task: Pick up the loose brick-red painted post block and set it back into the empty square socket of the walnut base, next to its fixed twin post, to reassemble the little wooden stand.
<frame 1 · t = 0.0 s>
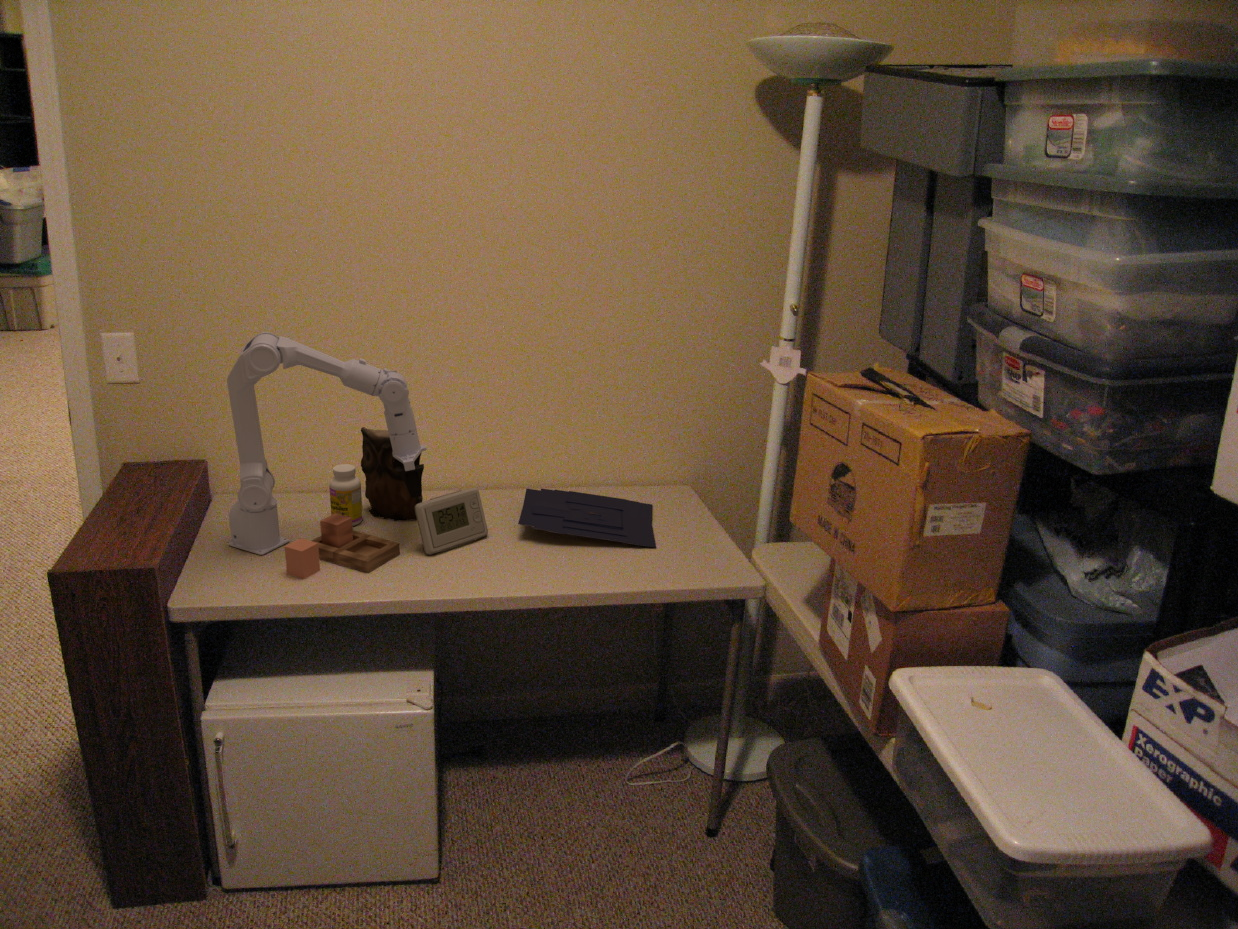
hand: (415, 489, 204), 11 cm above the table, fingers open, 7 cm apart
supplement bottle: (347, 522, 212), on the table
owl: (400, 511, 219), on the table
walnut base: (353, 554, 197), on the table
post block: (303, 572, 189), on the table
digital clock: (452, 544, 204), on the table
papers: (588, 525, 217), on the table
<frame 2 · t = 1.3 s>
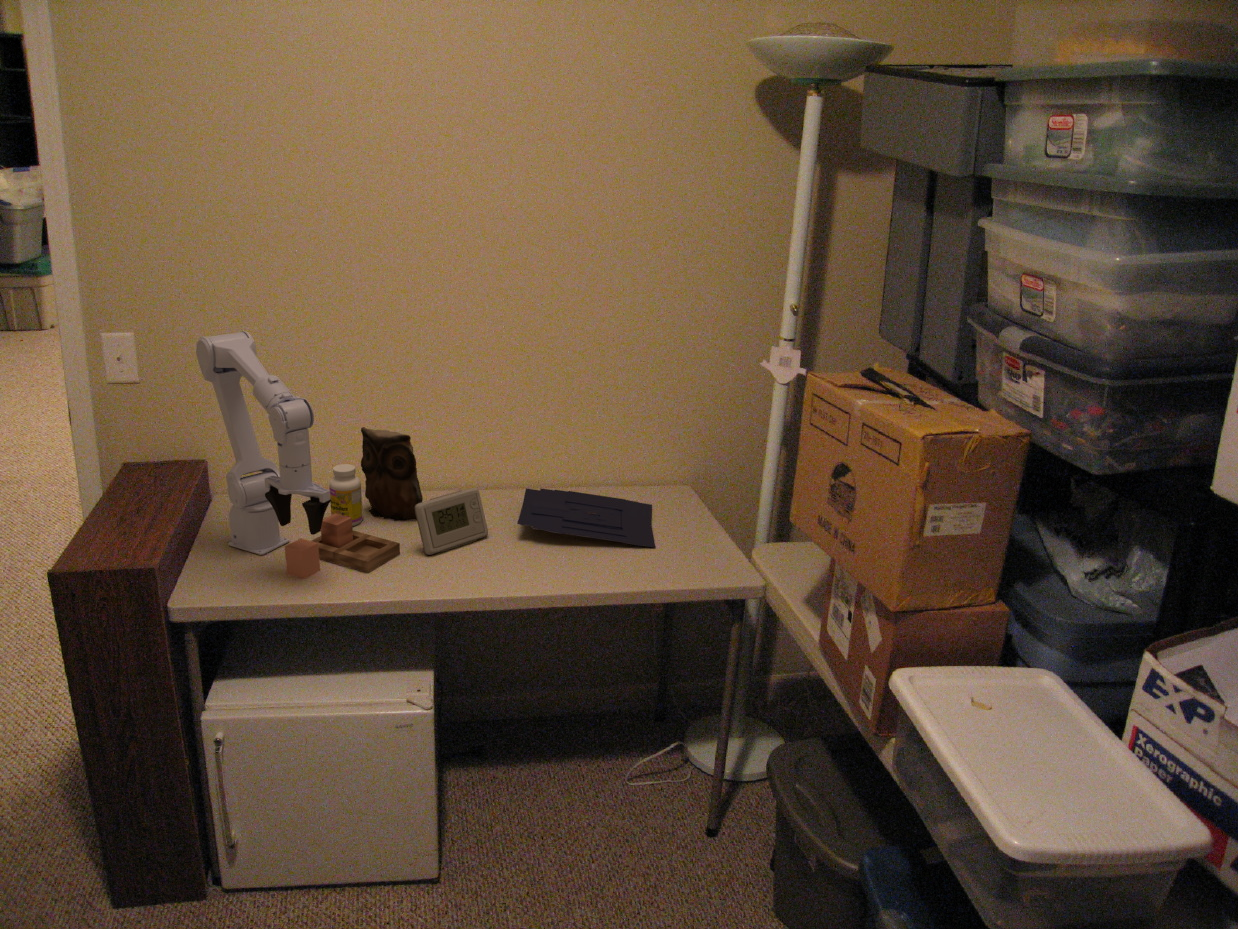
hand: (300, 528, 186), 9 cm above the table, fingers open, 7 cm apart
nothing on the table moved.
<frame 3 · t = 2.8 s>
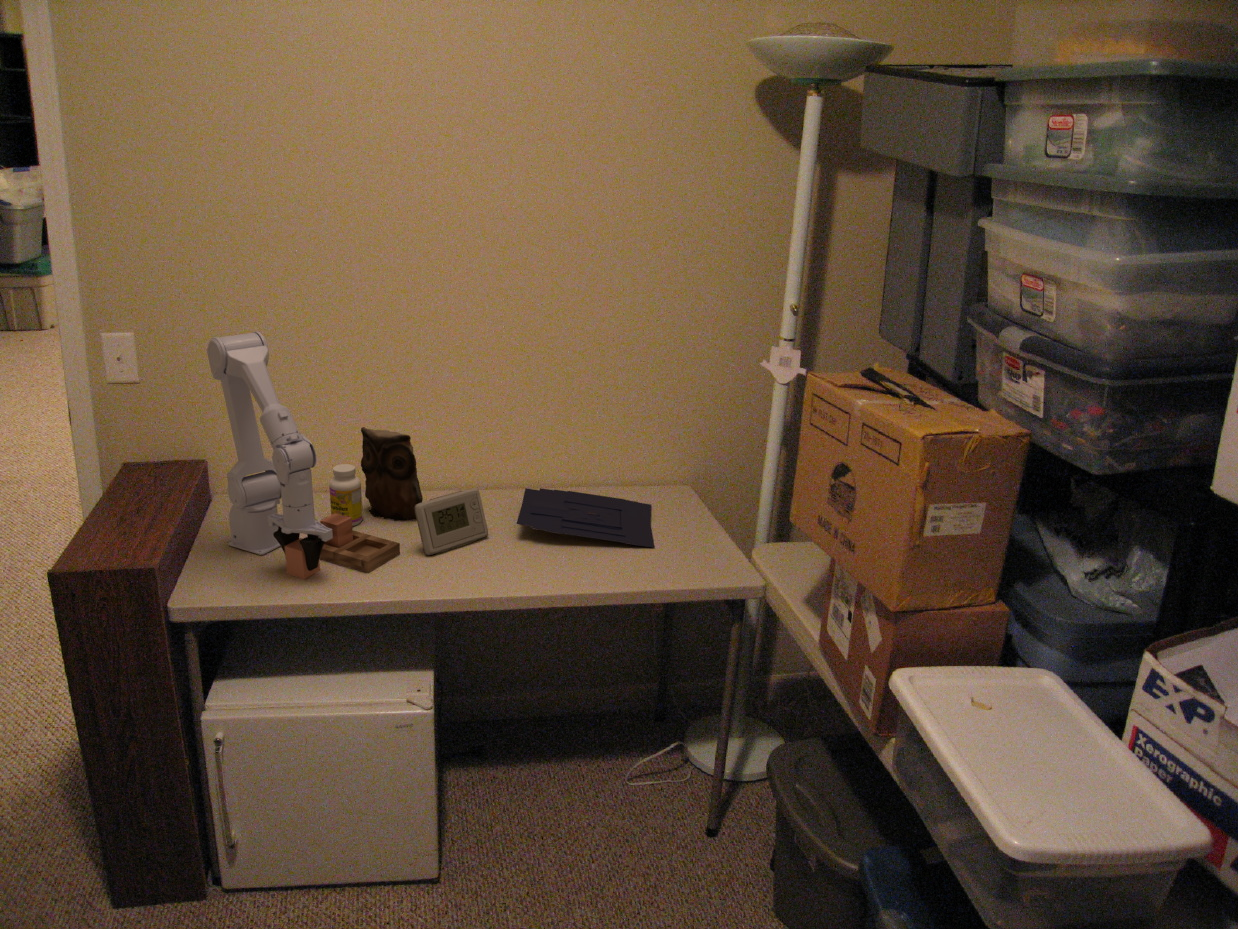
hand: (303, 565, 189), 1 cm above the table, fingers closed on post block, 4 cm apart
post block: (303, 572, 189), on the table, touching gripper
everything else where it was.
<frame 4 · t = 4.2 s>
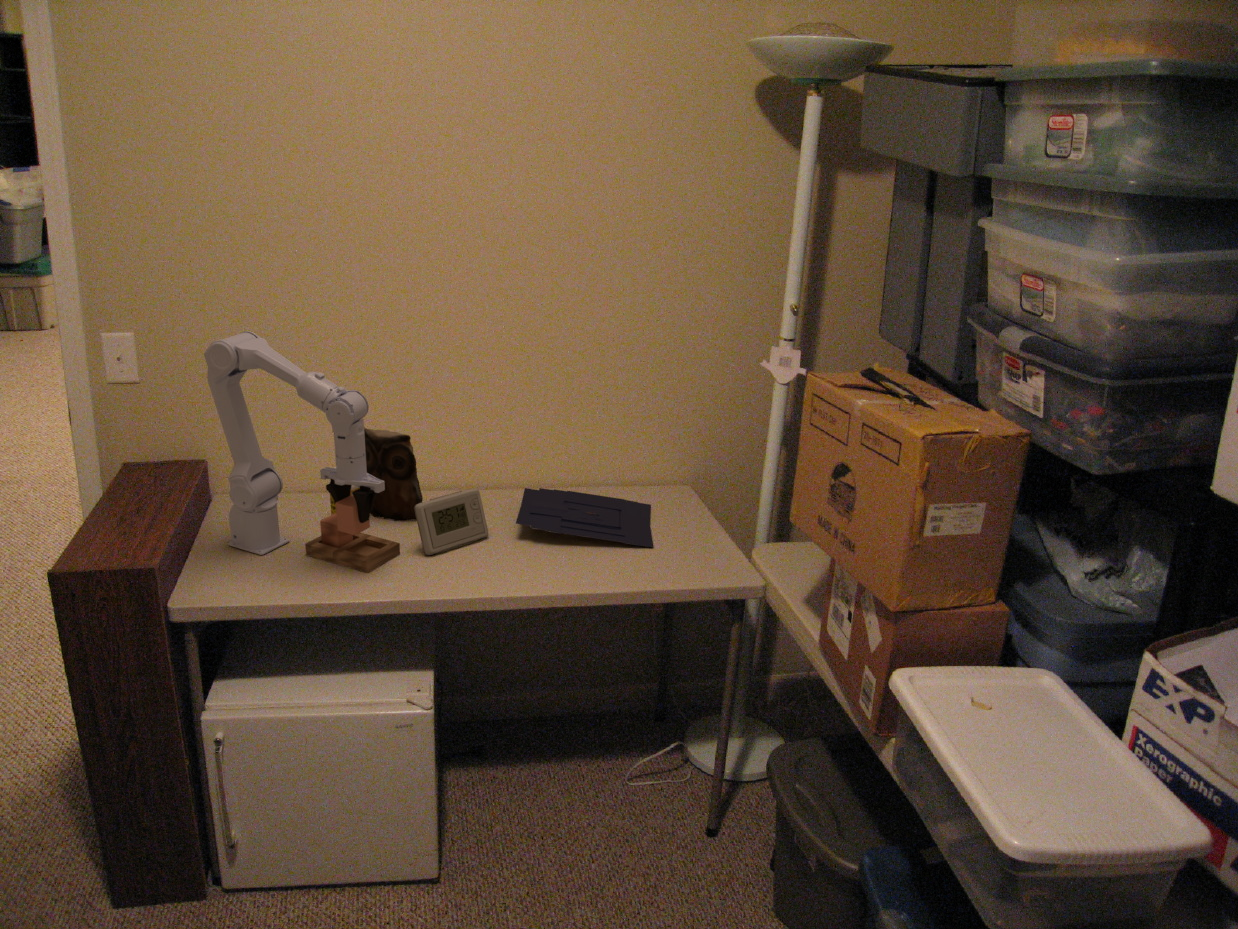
hand: (354, 518, 191), 10 cm above the table, fingers closed on post block, 4 cm apart
post block: (354, 528, 192), point 7 cm above the table, touching gripper
everything else where it was.
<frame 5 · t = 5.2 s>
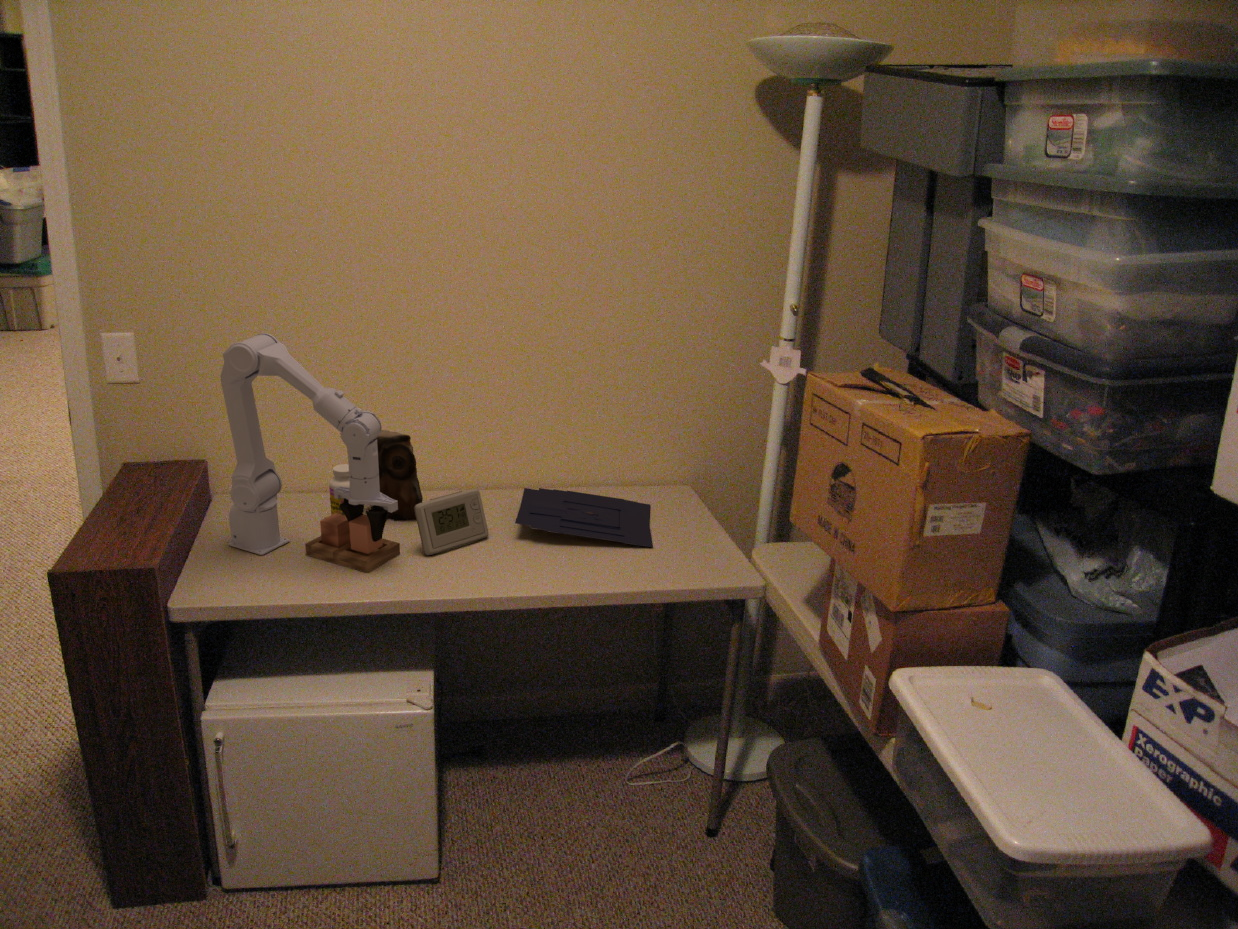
hand: (367, 537, 194), 5 cm above the table, fingers closed on post block, 4 cm apart
post block: (367, 547, 194), point 3 cm above the table, touching gripper
everything else where it was.
when the fingers open (4 cm above the table, at t = 5.9 s): post block stays where it is, resting on walnut base.
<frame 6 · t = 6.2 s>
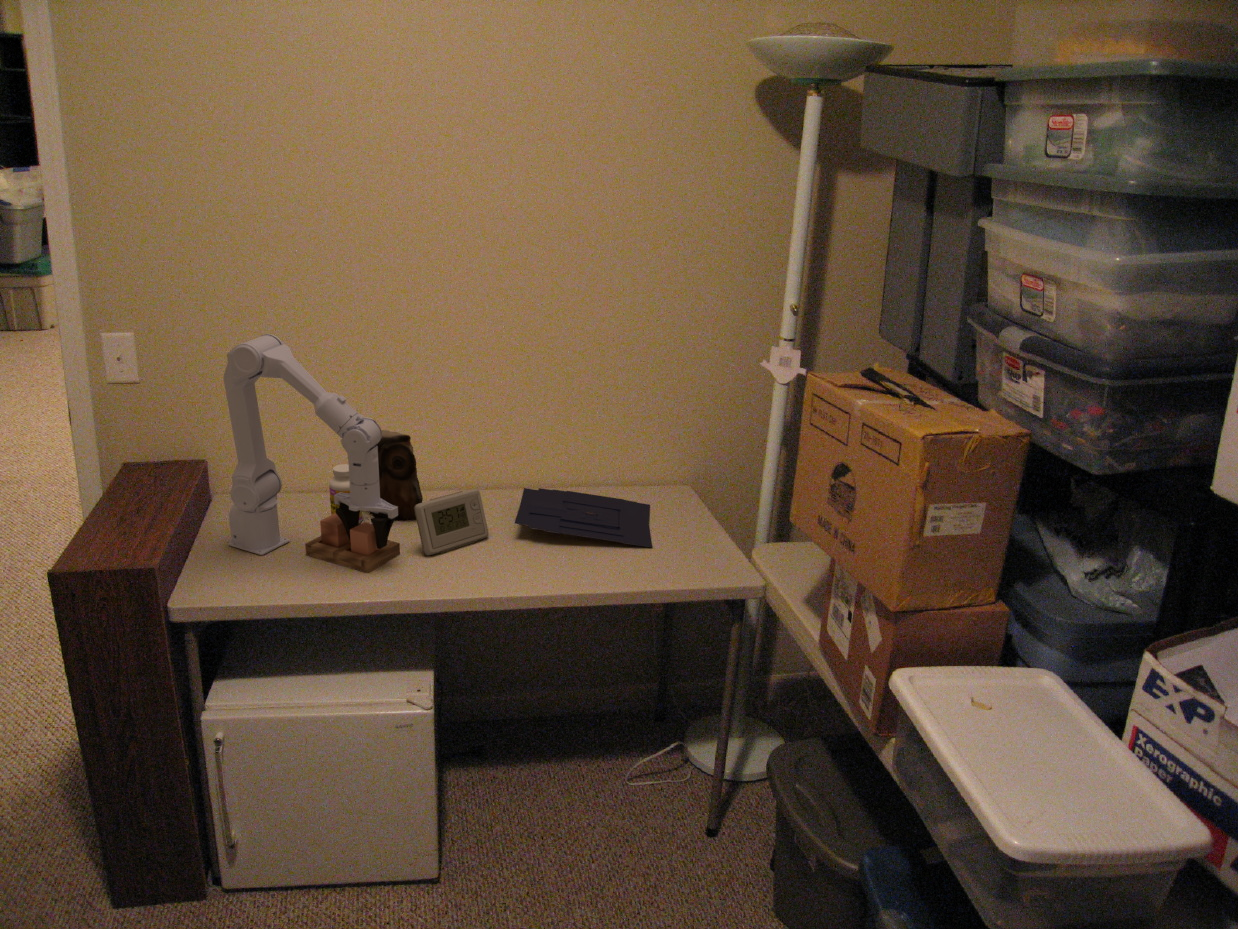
hand: (367, 542, 194), 4 cm above the table, fingers open, 7 cm apart
post block: (367, 555, 195), point 1 cm above the table, touching walnut base
everything else where it was.
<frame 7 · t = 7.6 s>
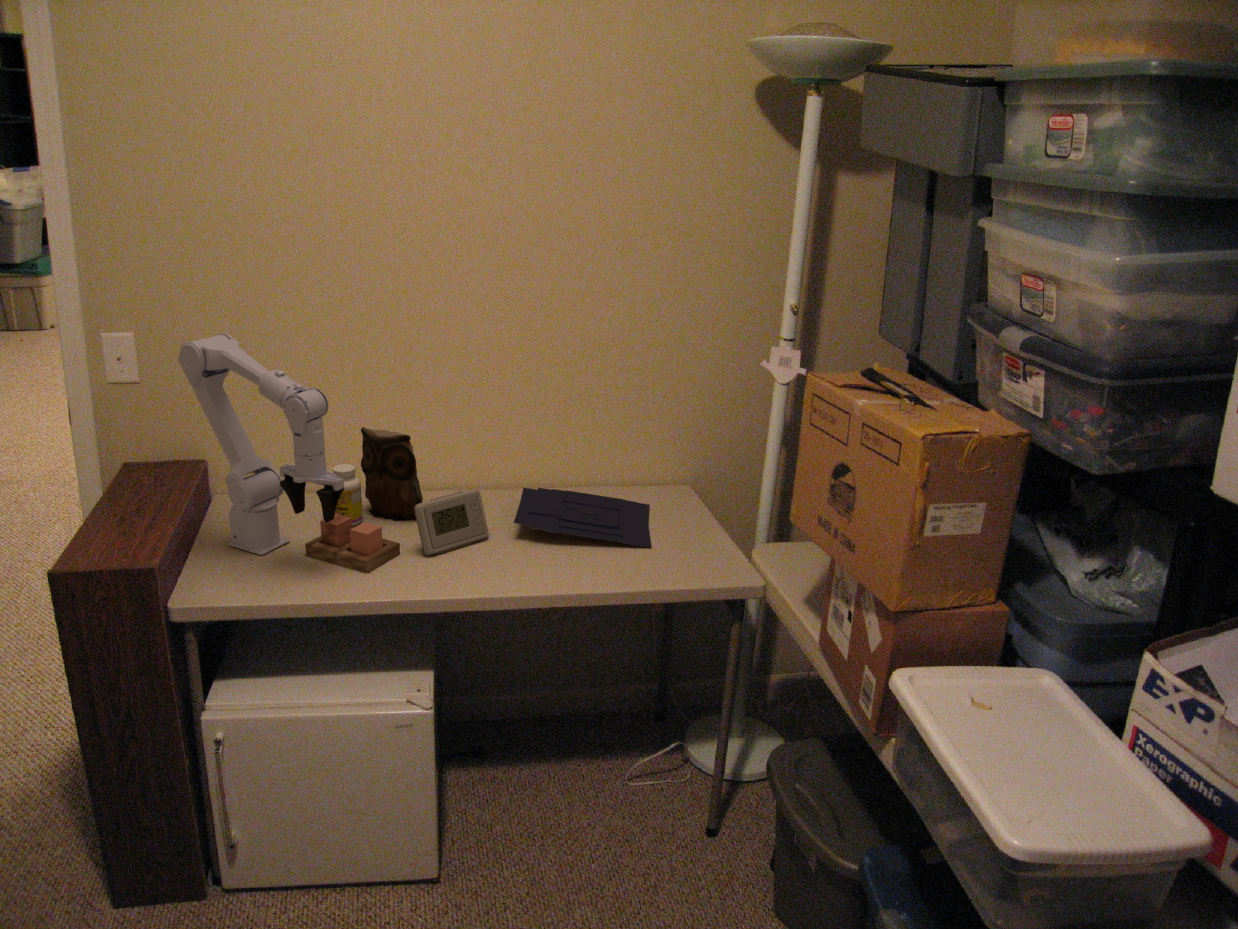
hand: (314, 516, 190), 10 cm above the table, fingers open, 7 cm apart
nothing on the table moved.
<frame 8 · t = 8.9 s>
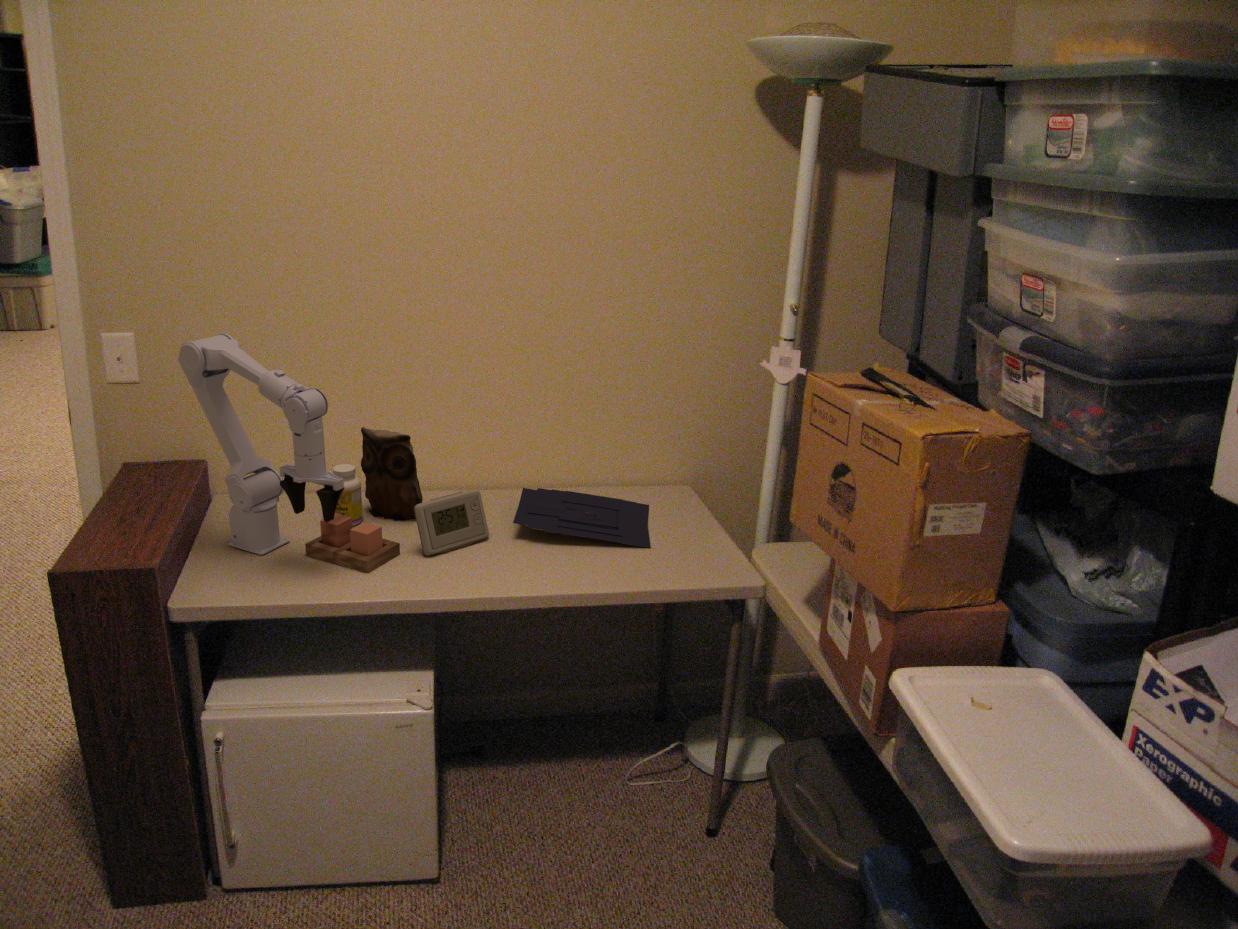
hand: (314, 516, 190), 10 cm above the table, fingers open, 7 cm apart
at the end: post block 0.3 cm from the target spot on the walnut base, point 1.0 cm above the walnut base's base; post block tilted 0°; the gripper is holding nothing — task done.
